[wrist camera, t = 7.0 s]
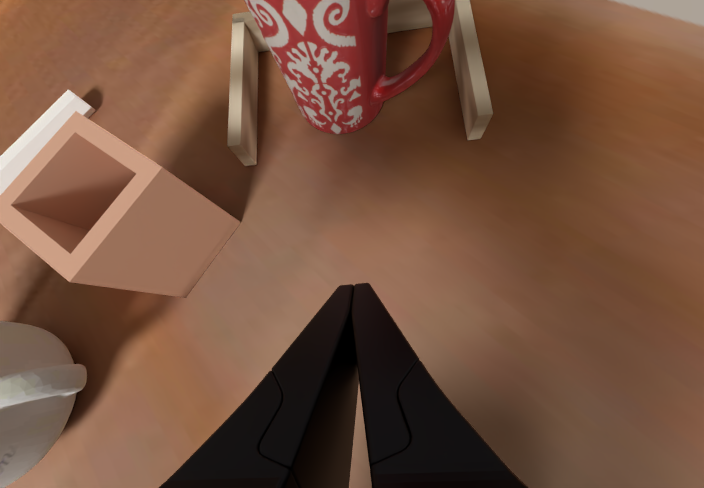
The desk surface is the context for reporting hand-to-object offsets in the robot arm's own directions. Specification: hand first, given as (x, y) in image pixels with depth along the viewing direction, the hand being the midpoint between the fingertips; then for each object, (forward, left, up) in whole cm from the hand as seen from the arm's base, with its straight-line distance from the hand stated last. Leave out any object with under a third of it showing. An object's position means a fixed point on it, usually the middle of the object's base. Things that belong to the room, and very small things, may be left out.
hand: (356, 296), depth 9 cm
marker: (-12, +31, -14) cm, 36 cm away
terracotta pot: (-6, +15, -14) cm, 21 cm away
